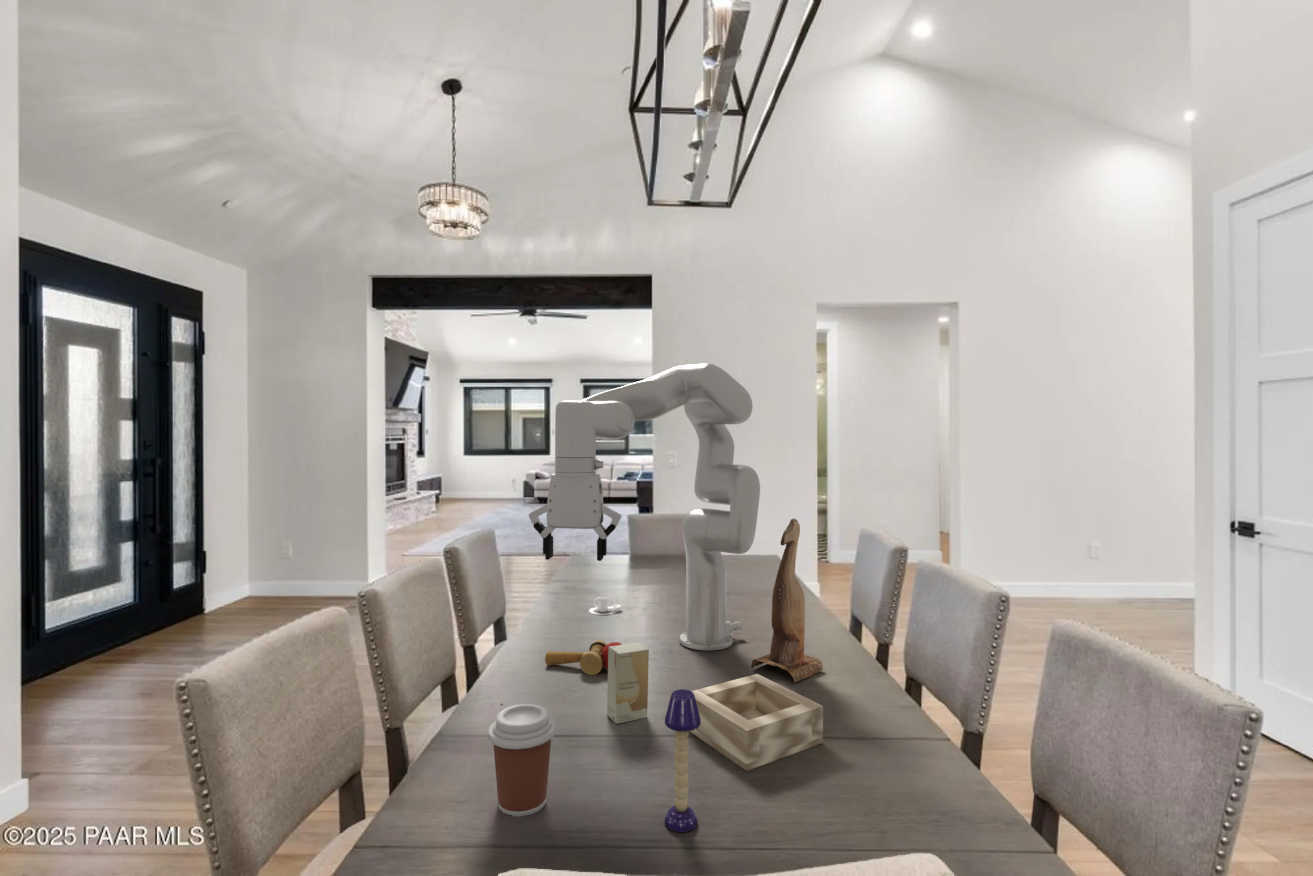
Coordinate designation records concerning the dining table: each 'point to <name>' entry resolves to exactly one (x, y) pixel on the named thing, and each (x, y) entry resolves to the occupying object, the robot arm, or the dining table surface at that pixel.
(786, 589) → the bird sculpture
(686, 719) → the toy lamp
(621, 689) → the skincare box
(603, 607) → the teacup and saucer
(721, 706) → the holder
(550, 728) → the coffee cup
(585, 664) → the kendama
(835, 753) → the dining table surface
